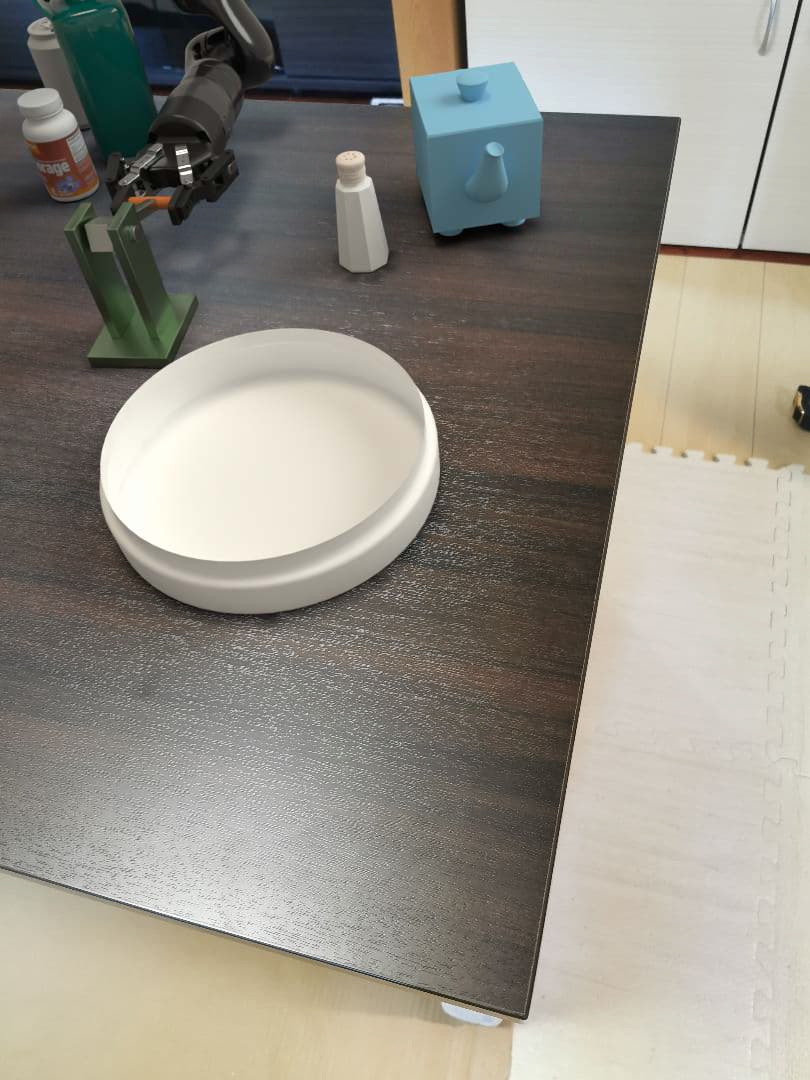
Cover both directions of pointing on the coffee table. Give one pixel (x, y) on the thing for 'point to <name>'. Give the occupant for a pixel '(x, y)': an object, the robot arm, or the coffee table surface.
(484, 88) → the teapot
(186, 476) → the white round dish
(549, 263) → the coffee table surface
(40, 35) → the can
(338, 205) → the salt shaker
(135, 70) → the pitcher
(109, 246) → the lever
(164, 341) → the bracket
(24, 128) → the pill bottle
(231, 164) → the robot arm
